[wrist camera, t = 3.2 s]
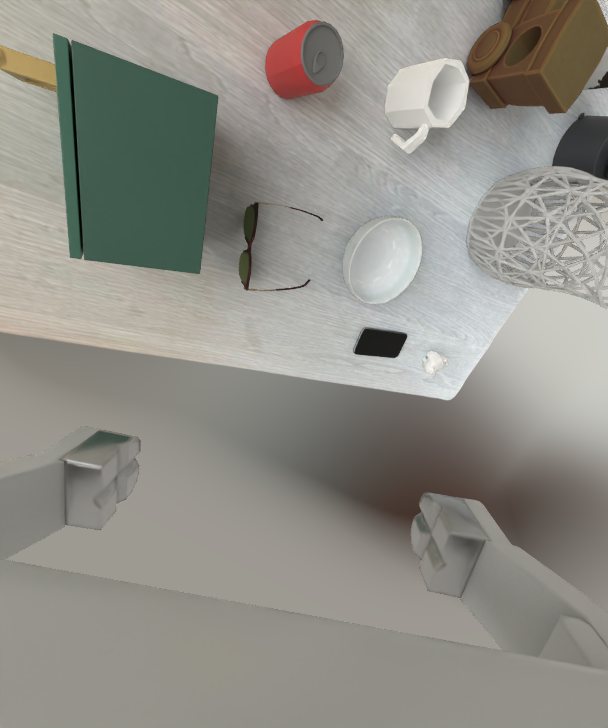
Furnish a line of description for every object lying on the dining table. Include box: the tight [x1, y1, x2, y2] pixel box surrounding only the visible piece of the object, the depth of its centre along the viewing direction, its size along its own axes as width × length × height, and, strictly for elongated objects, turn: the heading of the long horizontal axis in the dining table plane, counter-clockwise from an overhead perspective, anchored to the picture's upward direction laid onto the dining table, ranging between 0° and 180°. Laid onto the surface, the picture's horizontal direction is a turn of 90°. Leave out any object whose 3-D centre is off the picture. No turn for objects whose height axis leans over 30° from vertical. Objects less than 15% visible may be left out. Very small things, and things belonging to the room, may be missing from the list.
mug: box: [384, 58, 469, 154], centre depth 54 cm, size 12×9×10 cm
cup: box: [583, 47, 608, 90], centre depth 60 cm, size 7×7×15 cm
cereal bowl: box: [342, 216, 422, 304], centre depth 67 cm, size 17×17×7 cm
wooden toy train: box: [467, 0, 608, 114], centre depth 52 cm, size 20×11×17 cm, turn 153°
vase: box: [466, 166, 608, 309], centre depth 69 cm, size 24×24×30 cm
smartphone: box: [353, 328, 407, 358], centre depth 85 cm, size 7×1×15 cm
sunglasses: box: [239, 202, 323, 291], centre depth 60 cm, size 14×15×5 cm
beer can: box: [265, 20, 344, 99], centre depth 43 cm, size 7×7×12 cm
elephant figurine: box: [422, 350, 448, 375], centre depth 94 cm, size 7×8×6 cm
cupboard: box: [71, 40, 218, 274], centre depth 40 cm, size 12×18×17 cm, turn 164°
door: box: [0, 33, 84, 259], centre depth 36 cm, size 6×18×17 cm, turn 165°
